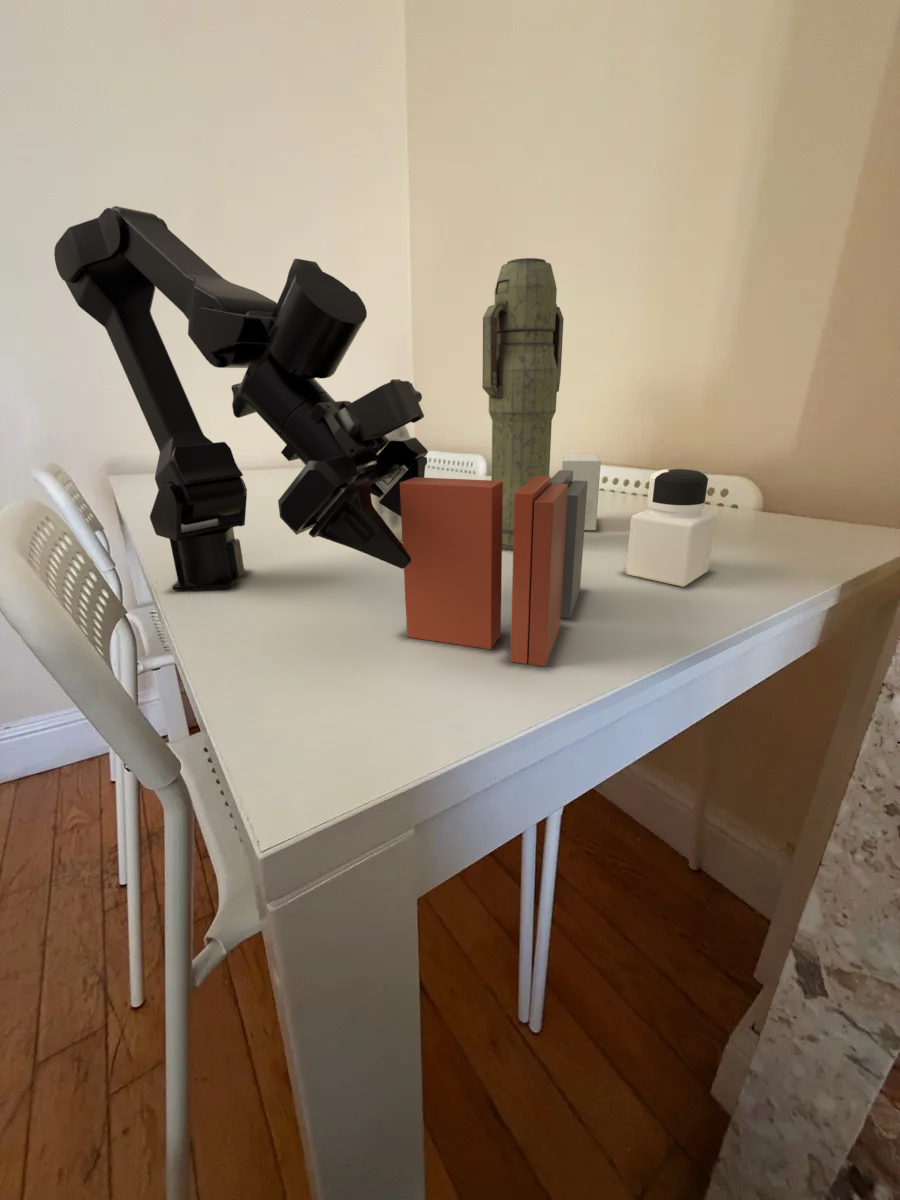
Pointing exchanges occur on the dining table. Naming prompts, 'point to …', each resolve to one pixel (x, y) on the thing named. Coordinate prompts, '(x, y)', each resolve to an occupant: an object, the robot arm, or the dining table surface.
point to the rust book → (453, 559)
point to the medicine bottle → (672, 529)
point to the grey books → (572, 539)
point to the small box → (587, 471)
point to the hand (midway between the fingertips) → (427, 549)
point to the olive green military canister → (521, 376)
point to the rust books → (537, 569)
